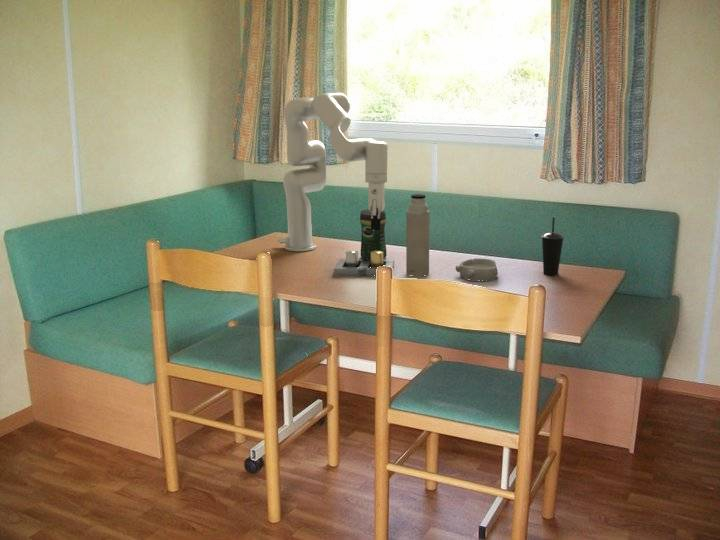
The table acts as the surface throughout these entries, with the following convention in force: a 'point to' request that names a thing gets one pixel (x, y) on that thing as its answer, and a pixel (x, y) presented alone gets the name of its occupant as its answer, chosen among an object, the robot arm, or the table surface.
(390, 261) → the jig
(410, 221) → the thermos bottle
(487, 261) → the dish
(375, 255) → the brass cylinder
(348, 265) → the brushed metal cylinder
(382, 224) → the coffee jar
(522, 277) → the table surface
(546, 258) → the drinking cup
